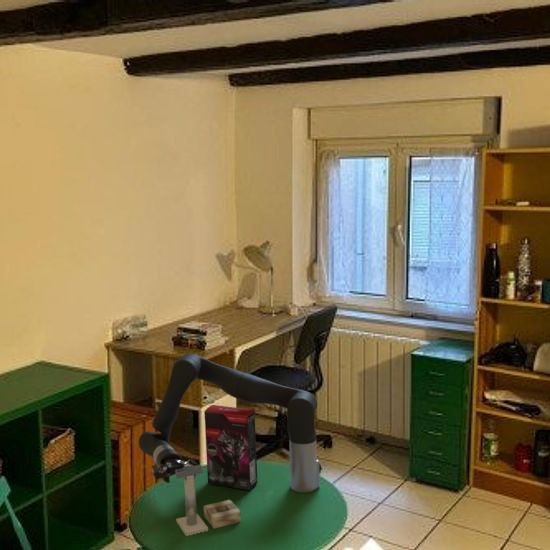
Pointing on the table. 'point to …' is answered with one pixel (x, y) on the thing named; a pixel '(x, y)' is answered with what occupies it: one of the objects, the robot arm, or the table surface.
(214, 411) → the graphics card box
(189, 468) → the t key
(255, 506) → the table surface
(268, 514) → the table surface
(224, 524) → the slot block
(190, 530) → the beige flat plate
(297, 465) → the robot arm
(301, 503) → the table surface
